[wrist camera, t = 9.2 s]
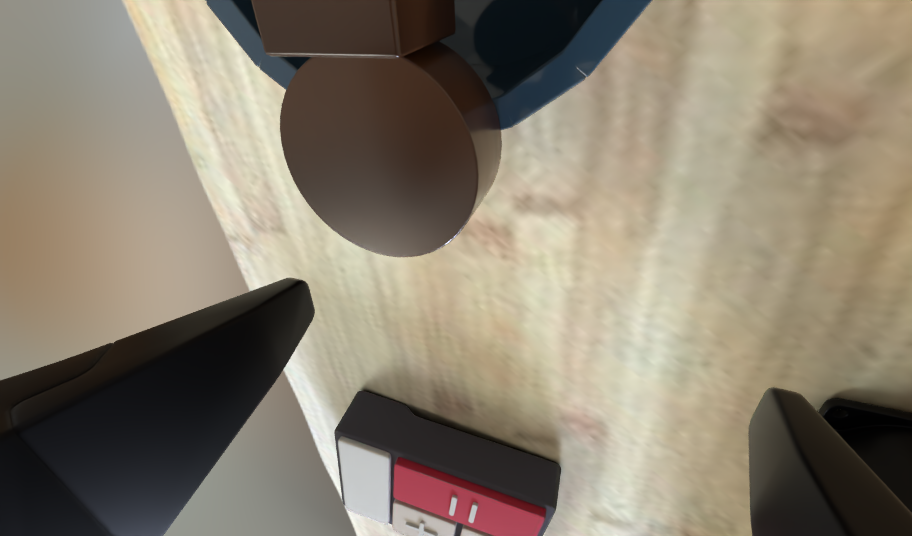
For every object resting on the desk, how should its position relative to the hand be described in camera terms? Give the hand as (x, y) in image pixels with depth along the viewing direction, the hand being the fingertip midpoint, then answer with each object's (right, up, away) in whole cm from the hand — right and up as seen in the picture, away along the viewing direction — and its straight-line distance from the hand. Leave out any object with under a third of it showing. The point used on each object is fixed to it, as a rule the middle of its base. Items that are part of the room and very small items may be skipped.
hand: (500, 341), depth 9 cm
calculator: (-1, -13, +26) cm, 29 cm away
